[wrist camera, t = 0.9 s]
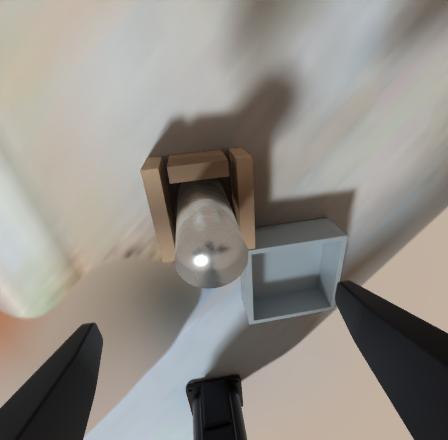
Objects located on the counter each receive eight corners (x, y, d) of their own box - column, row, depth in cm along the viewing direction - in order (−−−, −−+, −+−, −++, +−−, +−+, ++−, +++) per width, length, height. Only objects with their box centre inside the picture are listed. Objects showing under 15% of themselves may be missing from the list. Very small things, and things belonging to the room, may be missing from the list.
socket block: (246, 228, 21) (255, 248, 18) (165, 239, 20) (162, 262, 17) (242, 147, 18) (252, 157, 15) (147, 157, 17) (140, 170, 14)
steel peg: (226, 213, 20) (249, 282, 13) (181, 220, 19) (181, 293, 12) (222, 170, 18) (247, 222, 11) (173, 176, 18) (168, 233, 11)
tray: (318, 286, 25) (334, 309, 22) (242, 299, 24) (249, 324, 22) (327, 217, 21) (348, 235, 19) (237, 230, 21) (245, 250, 18)
